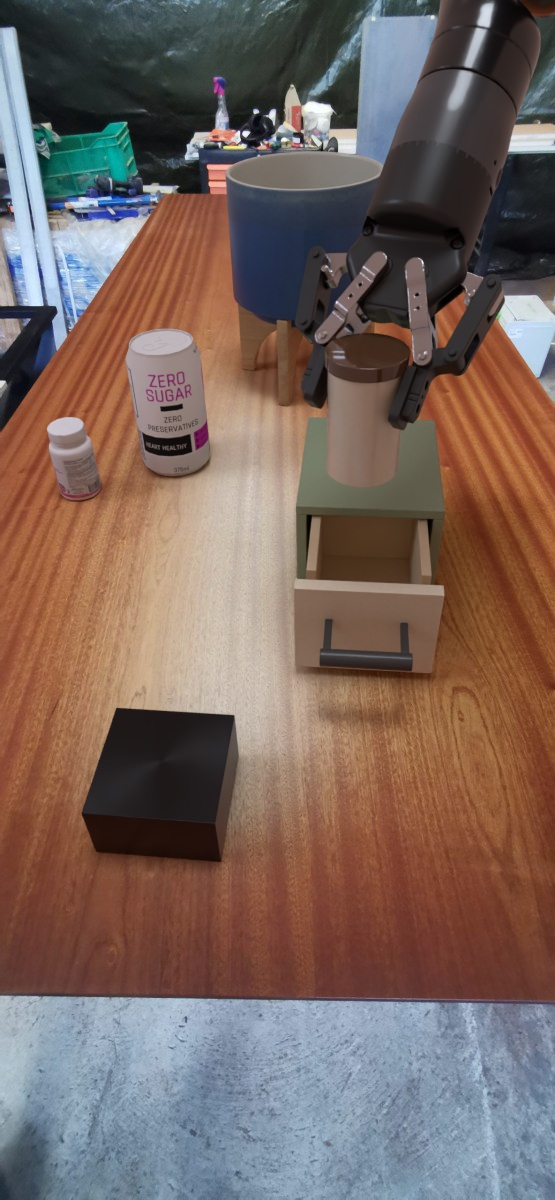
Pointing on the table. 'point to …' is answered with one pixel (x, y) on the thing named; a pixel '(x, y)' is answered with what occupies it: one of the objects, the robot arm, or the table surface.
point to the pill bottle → (73, 459)
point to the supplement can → (169, 401)
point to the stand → (163, 784)
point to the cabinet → (373, 488)
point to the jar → (363, 407)
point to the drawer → (367, 596)
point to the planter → (290, 240)
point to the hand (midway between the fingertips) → (353, 414)
